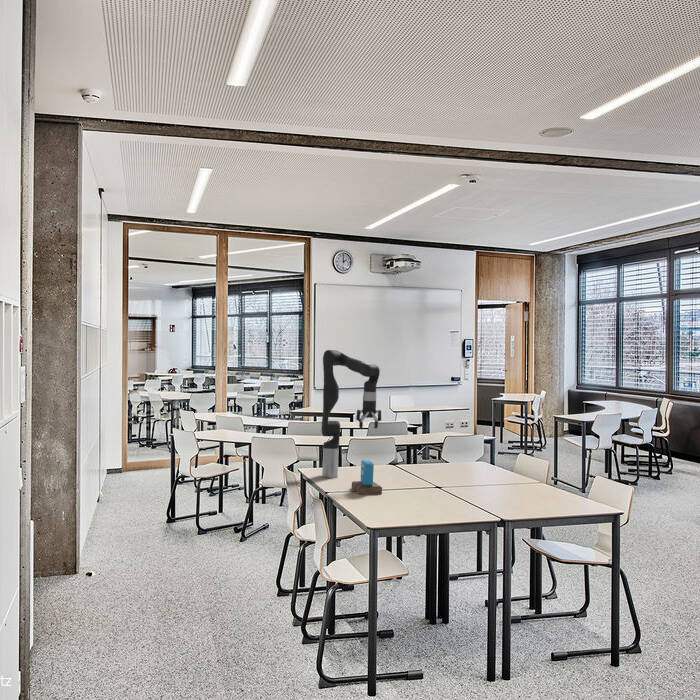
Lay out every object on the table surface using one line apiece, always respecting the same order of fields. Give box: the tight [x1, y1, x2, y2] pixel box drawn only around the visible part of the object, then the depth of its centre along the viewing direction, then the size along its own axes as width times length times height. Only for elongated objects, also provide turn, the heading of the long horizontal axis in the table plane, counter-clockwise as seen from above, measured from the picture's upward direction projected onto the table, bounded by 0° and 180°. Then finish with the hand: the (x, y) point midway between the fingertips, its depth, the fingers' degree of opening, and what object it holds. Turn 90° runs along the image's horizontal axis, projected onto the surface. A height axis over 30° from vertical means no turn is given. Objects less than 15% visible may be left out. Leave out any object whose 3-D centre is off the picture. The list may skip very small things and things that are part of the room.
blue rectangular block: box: [360, 459, 375, 486], centre depth 345 cm, size 12×4×12 cm, turn 10°
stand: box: [351, 480, 383, 496], centre depth 345 cm, size 15×12×4 cm
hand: (368, 428), depth 361 cm, fingers open, 8 cm apart
